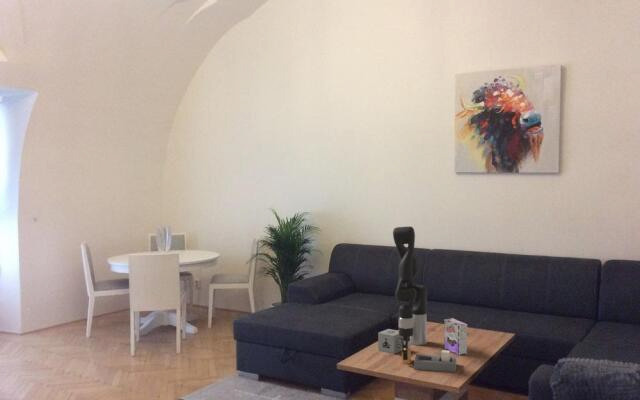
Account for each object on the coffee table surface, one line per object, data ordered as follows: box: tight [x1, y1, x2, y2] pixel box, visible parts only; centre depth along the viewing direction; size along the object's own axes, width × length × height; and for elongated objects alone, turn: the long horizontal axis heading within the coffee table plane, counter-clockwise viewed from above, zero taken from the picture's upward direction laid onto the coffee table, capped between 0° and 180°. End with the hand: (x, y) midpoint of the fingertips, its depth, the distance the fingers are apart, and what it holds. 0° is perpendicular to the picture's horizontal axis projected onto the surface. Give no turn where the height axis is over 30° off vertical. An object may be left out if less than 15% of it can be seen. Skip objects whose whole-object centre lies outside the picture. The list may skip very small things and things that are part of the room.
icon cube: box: [377, 328, 403, 355], centre depth 318 cm, size 10×10×10 cm
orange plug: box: [401, 347, 412, 365], centre depth 297 cm, size 4×4×7 cm
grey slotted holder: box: [413, 349, 457, 373], centre depth 290 cm, size 12×20×8 cm, turn 75°
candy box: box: [443, 317, 468, 356], centre depth 314 cm, size 14×6×16 cm, turn 21°
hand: (406, 357), depth 297 cm, fingers open, 8 cm apart
